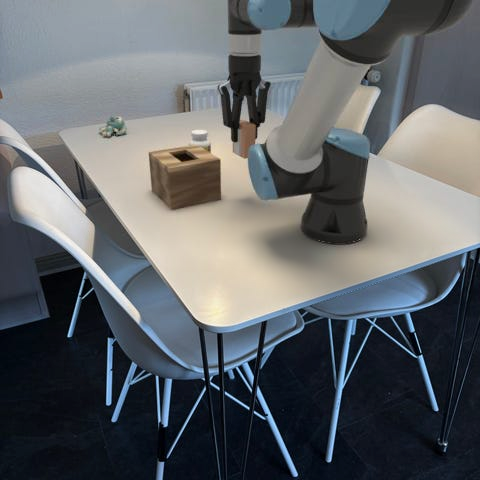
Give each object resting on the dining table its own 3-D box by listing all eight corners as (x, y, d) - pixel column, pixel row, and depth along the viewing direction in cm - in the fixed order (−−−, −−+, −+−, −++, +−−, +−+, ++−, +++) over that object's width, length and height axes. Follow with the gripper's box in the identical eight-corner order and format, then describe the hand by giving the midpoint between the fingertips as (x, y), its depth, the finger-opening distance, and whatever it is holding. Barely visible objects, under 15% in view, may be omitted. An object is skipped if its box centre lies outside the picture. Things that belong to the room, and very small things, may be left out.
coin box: (221, 199, 131) (220, 159, 125) (171, 209, 125) (168, 168, 119) (198, 182, 141) (197, 144, 136) (151, 191, 135) (148, 152, 130)
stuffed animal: (89, 123, 176) (103, 109, 185) (93, 141, 181) (107, 126, 190) (117, 125, 174) (130, 110, 183) (121, 143, 179) (133, 128, 188)
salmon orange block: (254, 156, 123) (255, 124, 119) (244, 158, 122) (244, 126, 118) (242, 150, 127) (243, 119, 124) (232, 152, 126) (232, 120, 122)
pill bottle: (208, 174, 147) (207, 135, 142) (187, 172, 148) (185, 134, 143) (213, 166, 153) (212, 129, 147) (193, 165, 154) (192, 128, 148)
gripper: (265, 50, 120) (263, 144, 131) (205, 54, 113) (208, 153, 124) (283, 53, 114) (279, 152, 125) (221, 57, 107) (222, 162, 118)
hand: (244, 152), depth 124 cm, fingers closed on salmon orange block, 3 cm apart
